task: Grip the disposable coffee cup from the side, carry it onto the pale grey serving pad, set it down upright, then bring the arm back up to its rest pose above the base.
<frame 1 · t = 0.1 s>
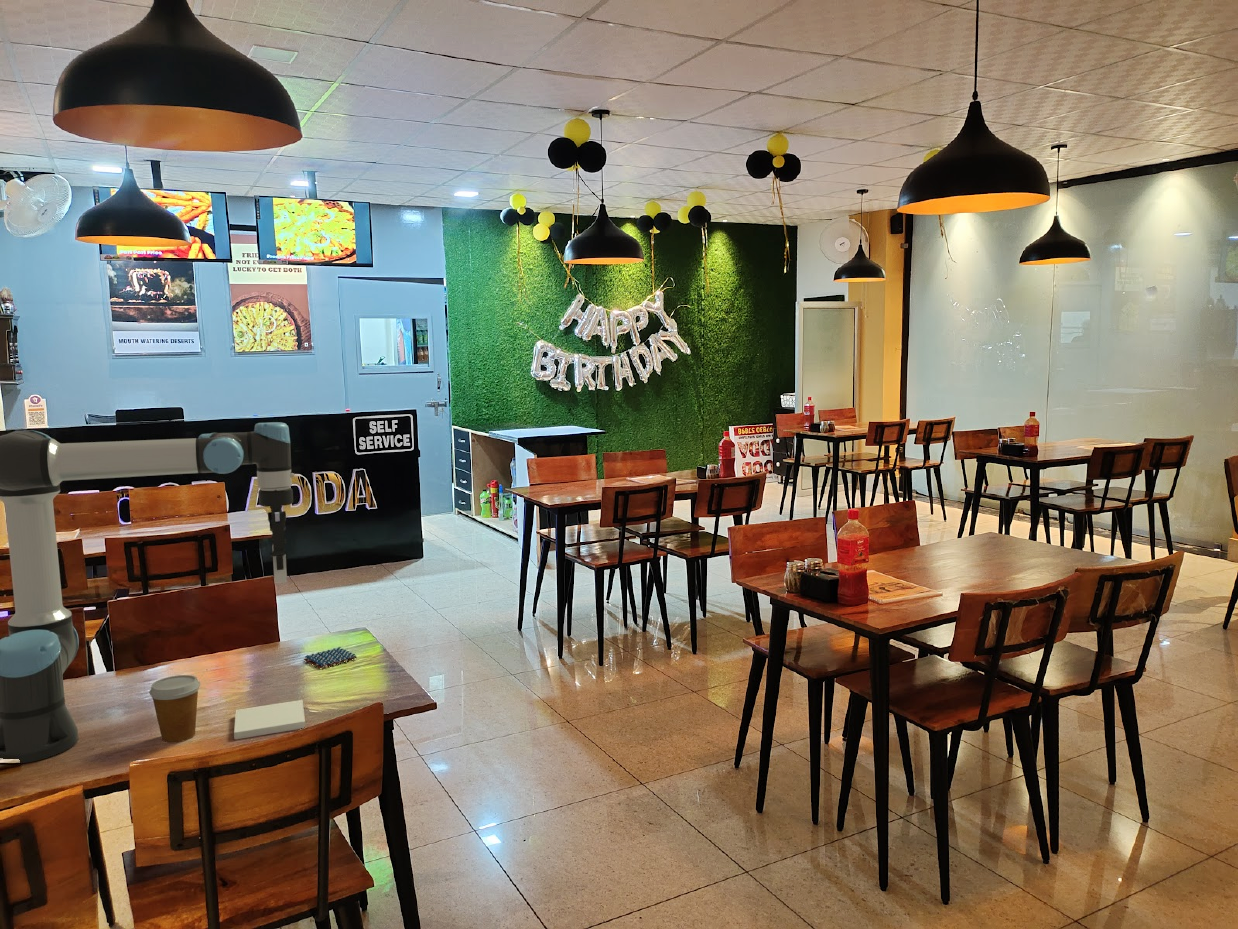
hand: (280, 576, 205), 28 cm above the table, tool pointing down, fingers open, 13 cm apart
woven mat: (330, 663, 228), on the table
serving pad: (270, 722, 190), on the table
disposable coffee cup: (178, 737, 183), on the table
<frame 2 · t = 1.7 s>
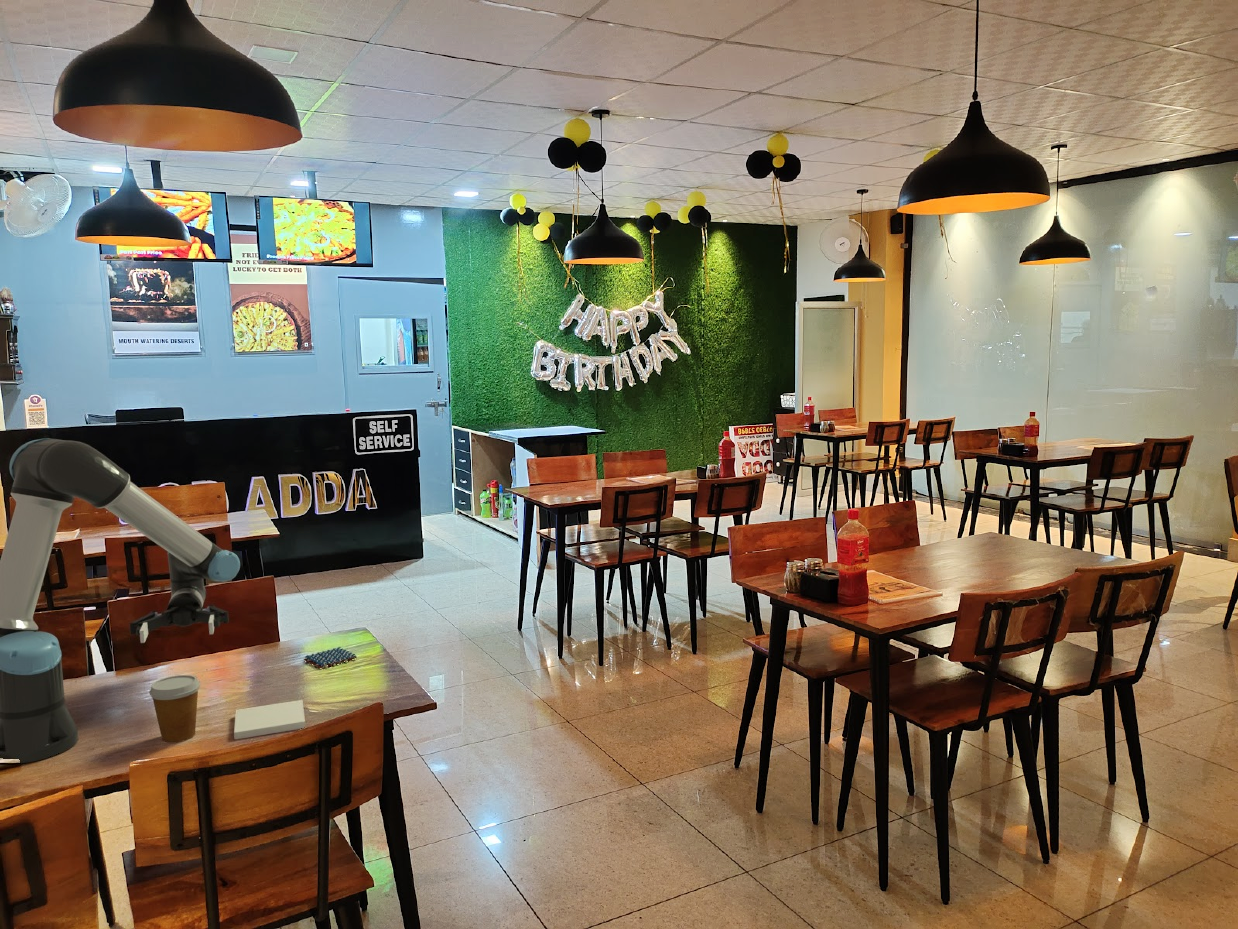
hand: (176, 632, 190), 20 cm above the table, tool horizontal, fingers open, 13 cm apart
nothing on the table moved.
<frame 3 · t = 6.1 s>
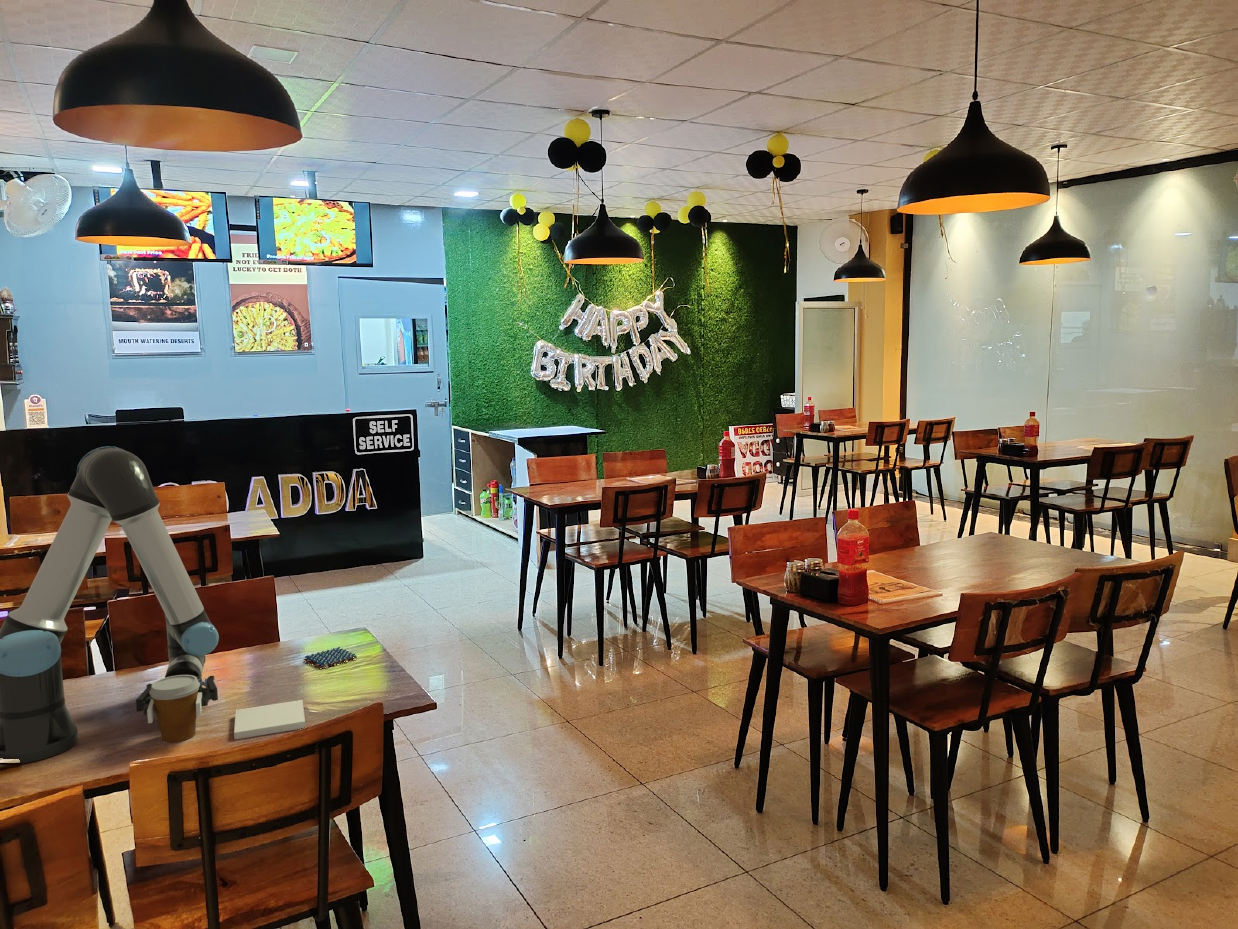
hand: (174, 713, 178), 7 cm above the table, tool horizontal, fingers closed on disposable coffee cup, 8 cm apart
disposable coffee cup: (178, 737, 183), on the table, touching gripper
everything else where it was.
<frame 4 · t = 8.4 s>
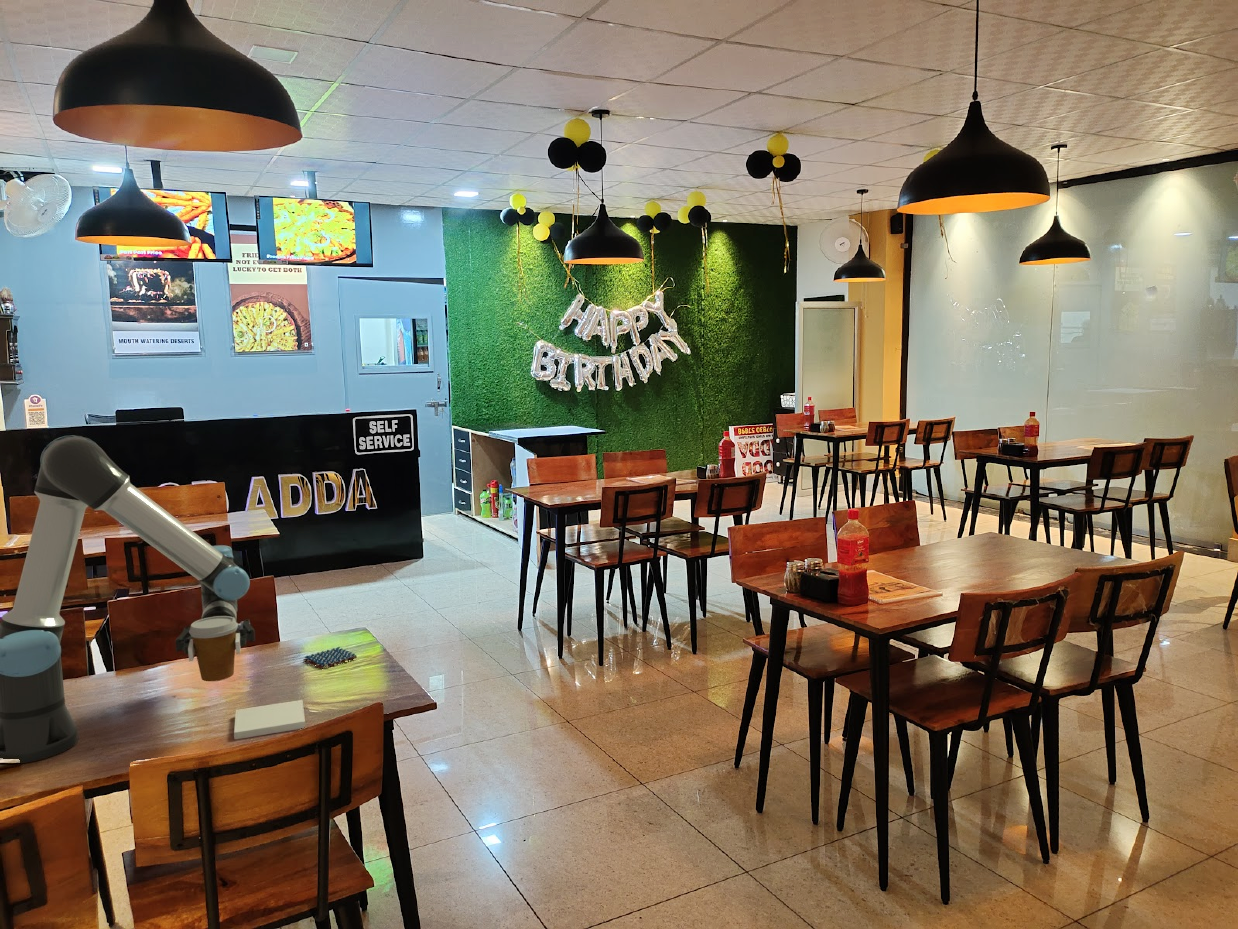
hand: (214, 651, 180), 19 cm above the table, tool horizontal, fingers closed on disposable coffee cup, 8 cm apart
disposable coffee cup: (217, 677, 185), point 12 cm above the table, touching gripper
everything else where it was.
when the fingers open (10 cm above the table, at t = 11.0 s): disposable coffee cup drops 1 cm, resting on serving pad.
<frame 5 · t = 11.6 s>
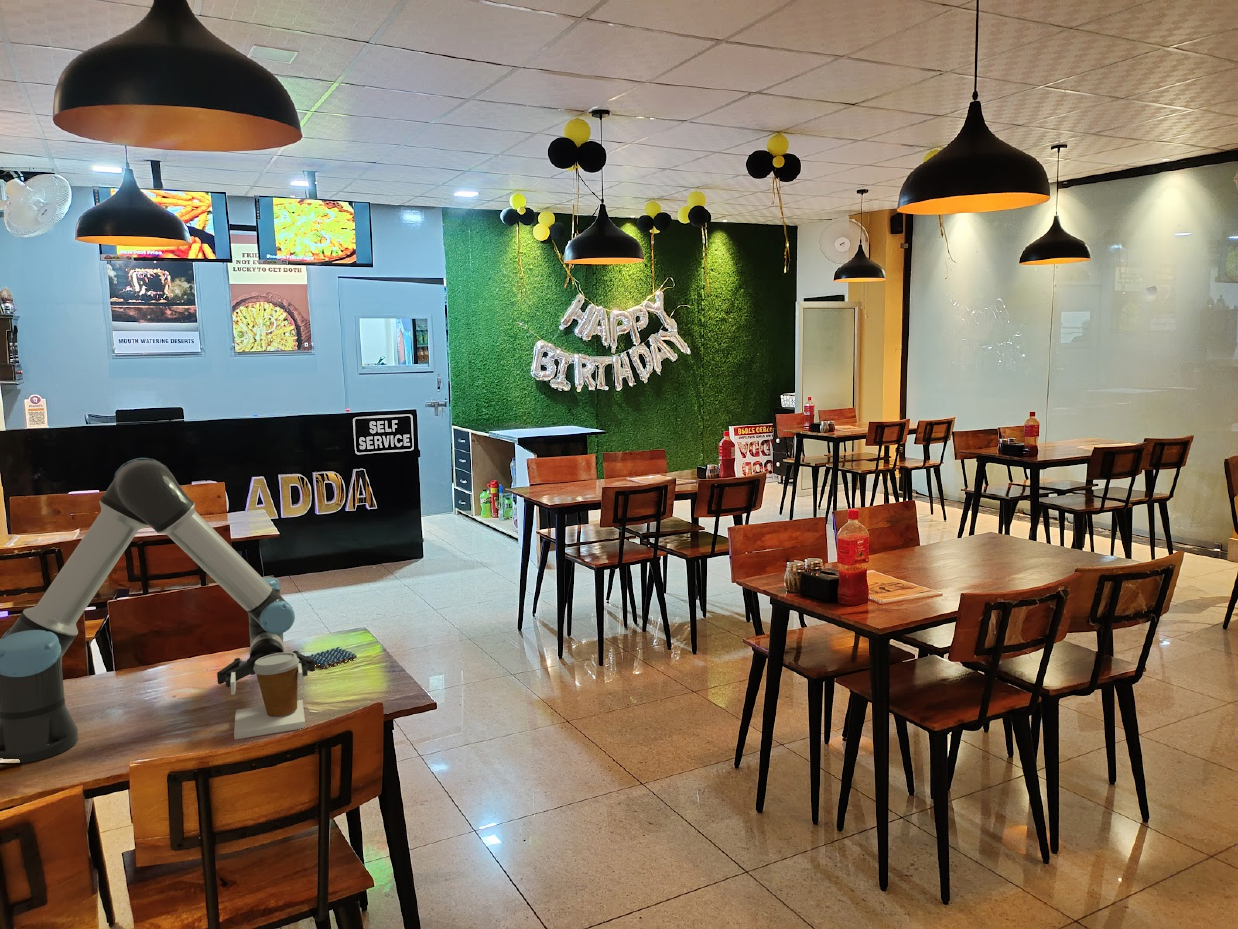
hand: (267, 683, 185), 10 cm above the table, tool horizontal, fingers open, 13 cm apart
disposable coffee cup: (282, 712, 191), point 2 cm above the table, touching gripper, serving pad
everything else where it was.
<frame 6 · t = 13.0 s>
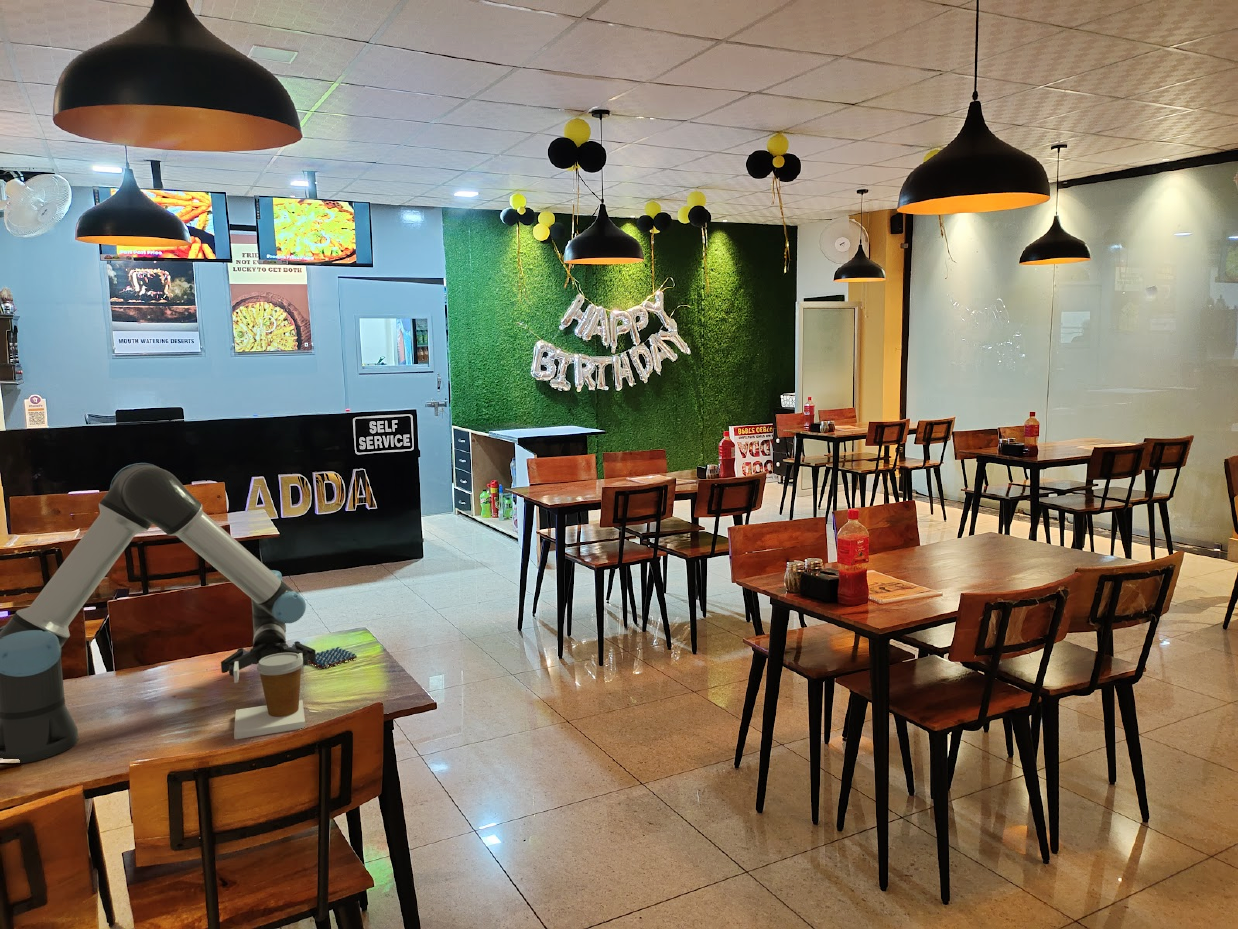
hand: (269, 672, 192), 10 cm above the table, tool horizontal, fingers open, 13 cm apart
nothing on the table moved.
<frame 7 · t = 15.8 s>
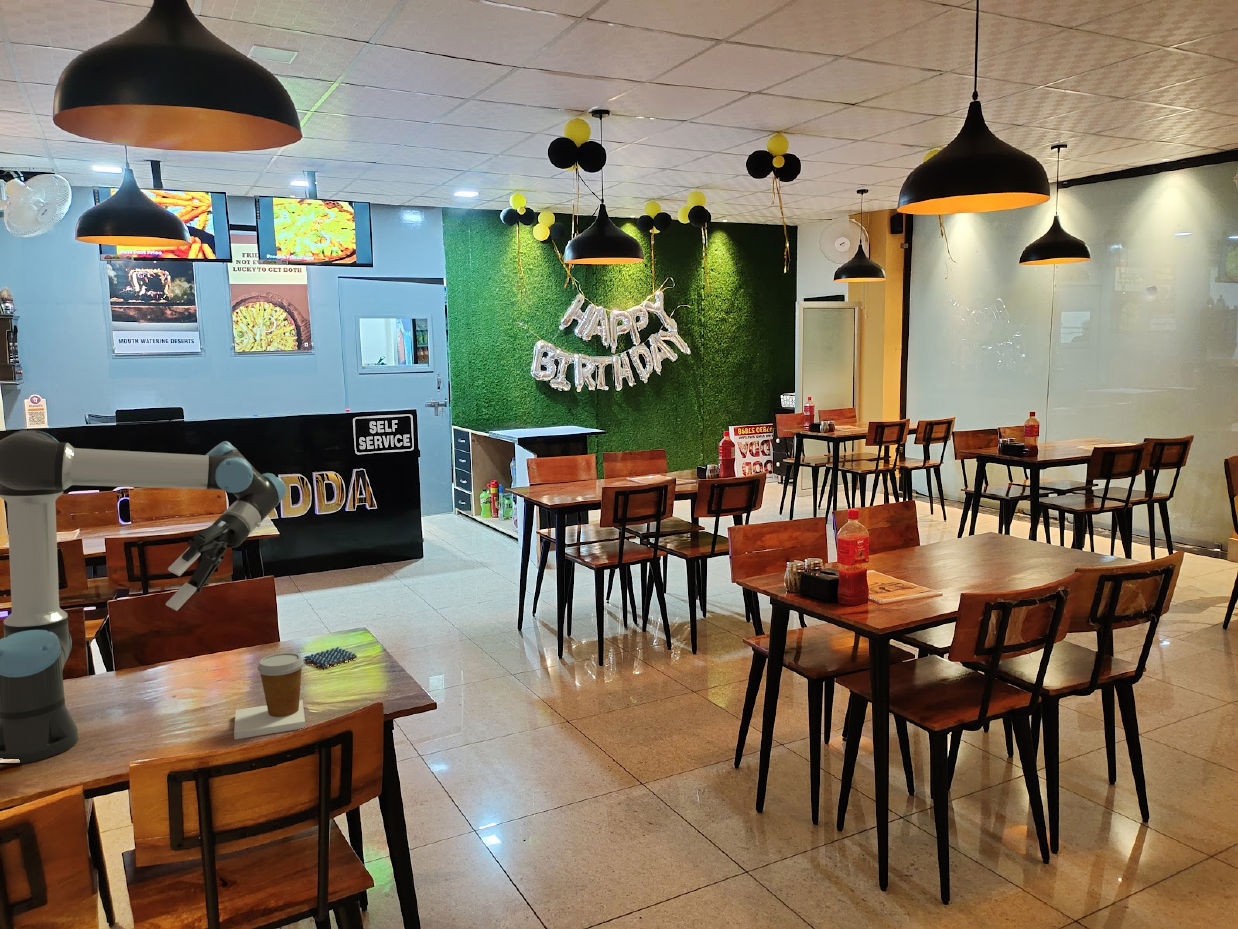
hand: (172, 590, 183), 31 cm above the table, tool tilted 60°, fingers open, 13 cm apart
disposable coffee cup: (283, 712, 192), point 1 cm above the table, touching serving pad
everything else where it was.
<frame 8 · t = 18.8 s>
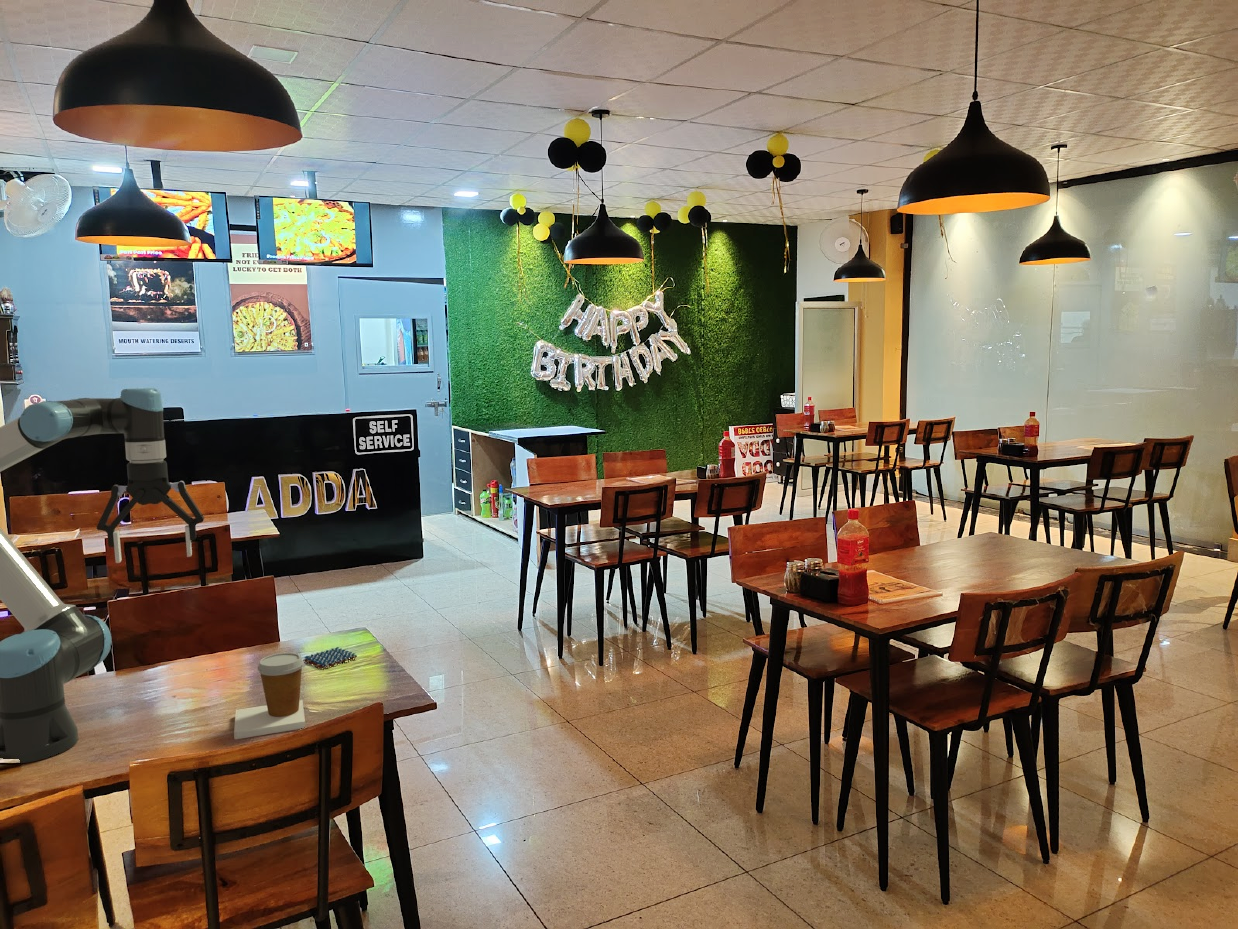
hand: (154, 558, 187), 37 cm above the table, tool pointing down, fingers open, 13 cm apart
nothing on the table moved.
at the end: disposable coffee cup inside the target area on the serving pad (3.1 cm from its centre), point 1.3 cm above the serving pad's base; disposable coffee cup tilted 0°; the gripper is holding nothing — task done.
